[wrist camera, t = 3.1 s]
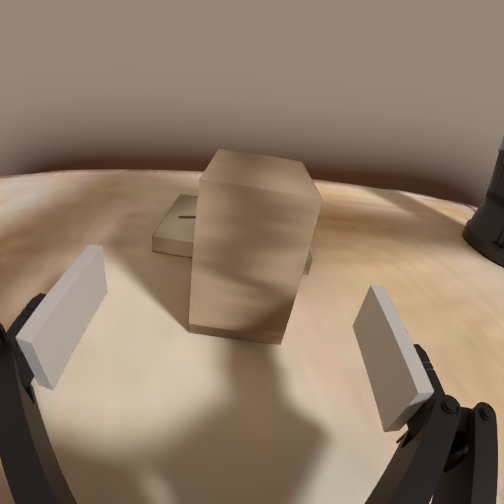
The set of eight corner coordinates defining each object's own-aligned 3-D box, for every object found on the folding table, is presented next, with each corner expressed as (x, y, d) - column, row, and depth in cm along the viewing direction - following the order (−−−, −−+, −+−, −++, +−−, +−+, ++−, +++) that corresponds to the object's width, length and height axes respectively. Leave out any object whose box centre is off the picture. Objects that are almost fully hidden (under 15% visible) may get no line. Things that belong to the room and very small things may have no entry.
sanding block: (275, 276, 27) (301, 162, 22) (280, 344, 20) (322, 199, 15) (205, 266, 26) (219, 148, 21) (188, 332, 19) (199, 179, 15)
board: (295, 223, 37) (298, 212, 37) (308, 274, 28) (312, 260, 27) (179, 206, 36) (180, 194, 36) (152, 251, 27) (152, 236, 26)
